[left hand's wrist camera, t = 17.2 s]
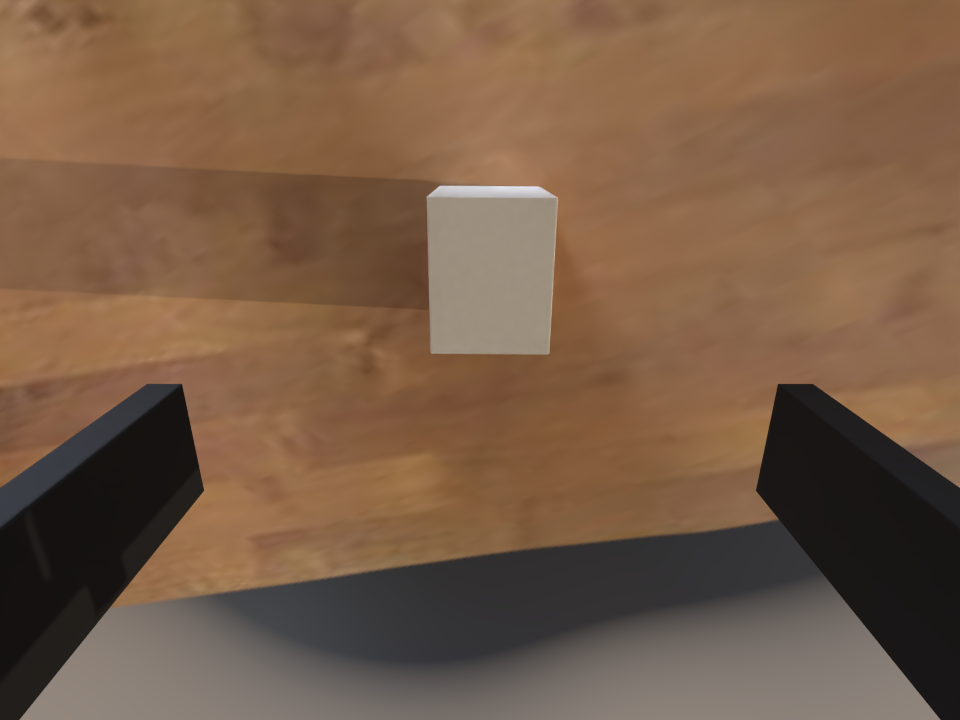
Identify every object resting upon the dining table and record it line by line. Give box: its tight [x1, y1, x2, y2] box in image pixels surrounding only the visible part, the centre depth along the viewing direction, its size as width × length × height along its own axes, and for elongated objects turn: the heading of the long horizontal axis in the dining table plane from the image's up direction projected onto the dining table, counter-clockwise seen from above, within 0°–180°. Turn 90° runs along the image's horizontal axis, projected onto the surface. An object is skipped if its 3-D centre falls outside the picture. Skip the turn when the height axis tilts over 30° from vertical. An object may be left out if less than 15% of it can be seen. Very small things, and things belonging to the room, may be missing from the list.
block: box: [427, 186, 558, 355], centre depth 32 cm, size 8×6×8 cm
